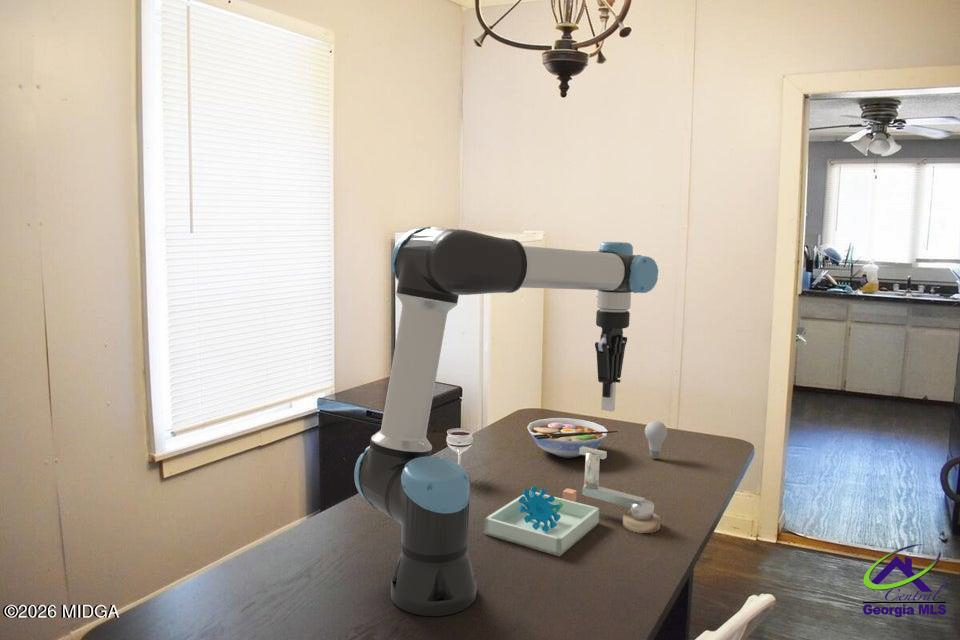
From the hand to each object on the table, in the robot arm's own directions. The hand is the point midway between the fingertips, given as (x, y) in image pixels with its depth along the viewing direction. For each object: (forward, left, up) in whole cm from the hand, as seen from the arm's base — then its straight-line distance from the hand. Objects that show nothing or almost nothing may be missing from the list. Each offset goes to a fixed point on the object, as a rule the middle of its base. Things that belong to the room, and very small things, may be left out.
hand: (607, 409), depth 172 cm
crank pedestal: (-8, -12, -22) cm, 27 cm away
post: (-8, +5, -22) cm, 24 cm away
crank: (-8, -6, -20) cm, 22 cm away
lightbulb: (+38, +1, -23) cm, 44 cm away
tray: (-22, +5, -22) cm, 32 cm away
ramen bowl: (+27, +23, -23) cm, 42 cm away
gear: (-22, +5, -22) cm, 31 cm away
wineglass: (-7, +37, -23) cm, 44 cm away
